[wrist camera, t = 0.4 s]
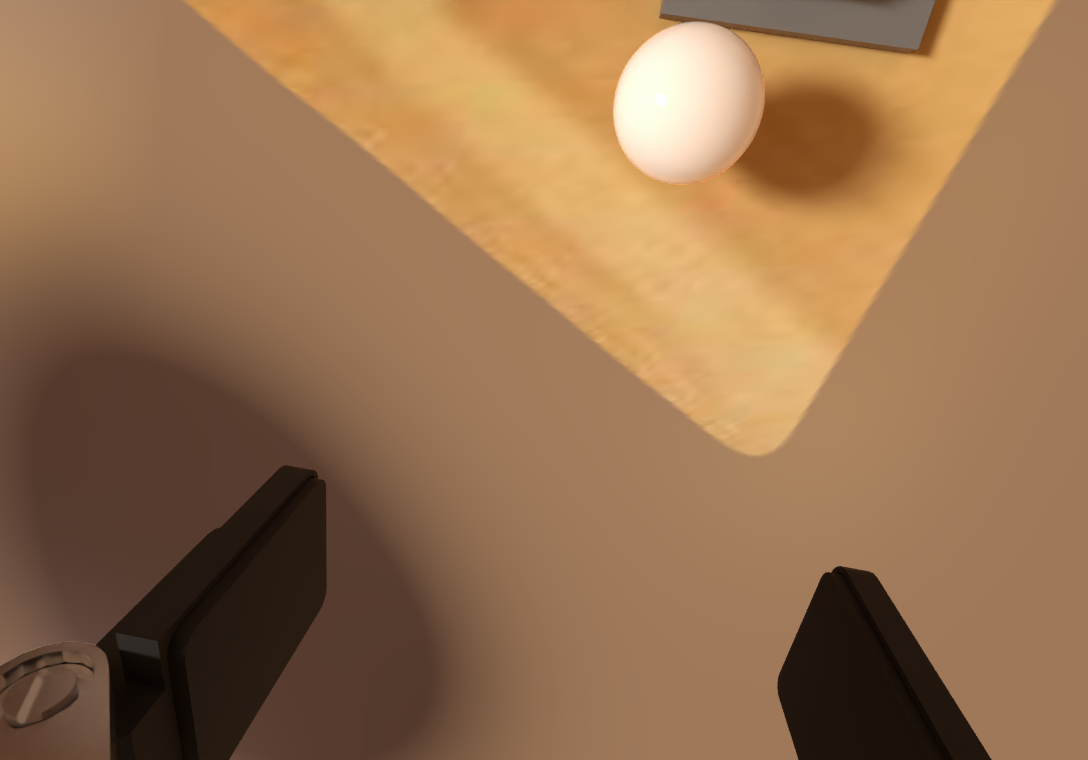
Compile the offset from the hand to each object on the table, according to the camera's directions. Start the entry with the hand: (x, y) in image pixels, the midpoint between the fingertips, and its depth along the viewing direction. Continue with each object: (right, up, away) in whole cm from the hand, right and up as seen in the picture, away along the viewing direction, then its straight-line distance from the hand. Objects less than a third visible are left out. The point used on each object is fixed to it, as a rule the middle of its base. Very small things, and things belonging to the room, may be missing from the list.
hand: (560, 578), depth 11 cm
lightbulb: (+7, +19, +22) cm, 29 cm away
